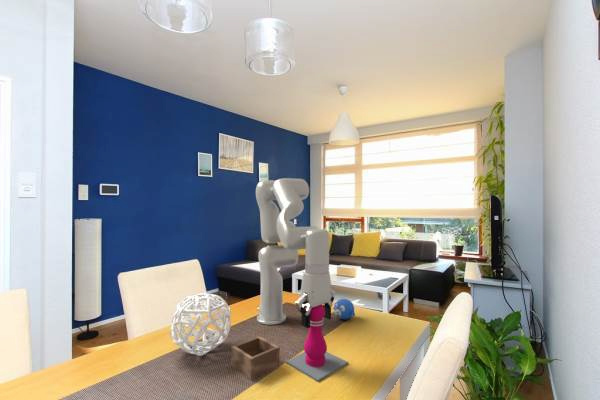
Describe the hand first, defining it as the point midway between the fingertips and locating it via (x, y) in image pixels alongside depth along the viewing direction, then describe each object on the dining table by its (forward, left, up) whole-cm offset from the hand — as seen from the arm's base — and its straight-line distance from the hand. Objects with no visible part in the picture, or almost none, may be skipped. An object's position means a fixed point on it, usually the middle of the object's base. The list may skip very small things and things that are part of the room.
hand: (316, 322), depth 97 cm
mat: (0, 0, -13) cm, 13 cm away
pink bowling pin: (0, -1, -13) cm, 13 cm away
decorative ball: (-32, -23, -13) cm, 41 cm away
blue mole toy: (-17, +34, -13) cm, 40 cm away
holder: (-12, -15, -13) cm, 23 cm away
